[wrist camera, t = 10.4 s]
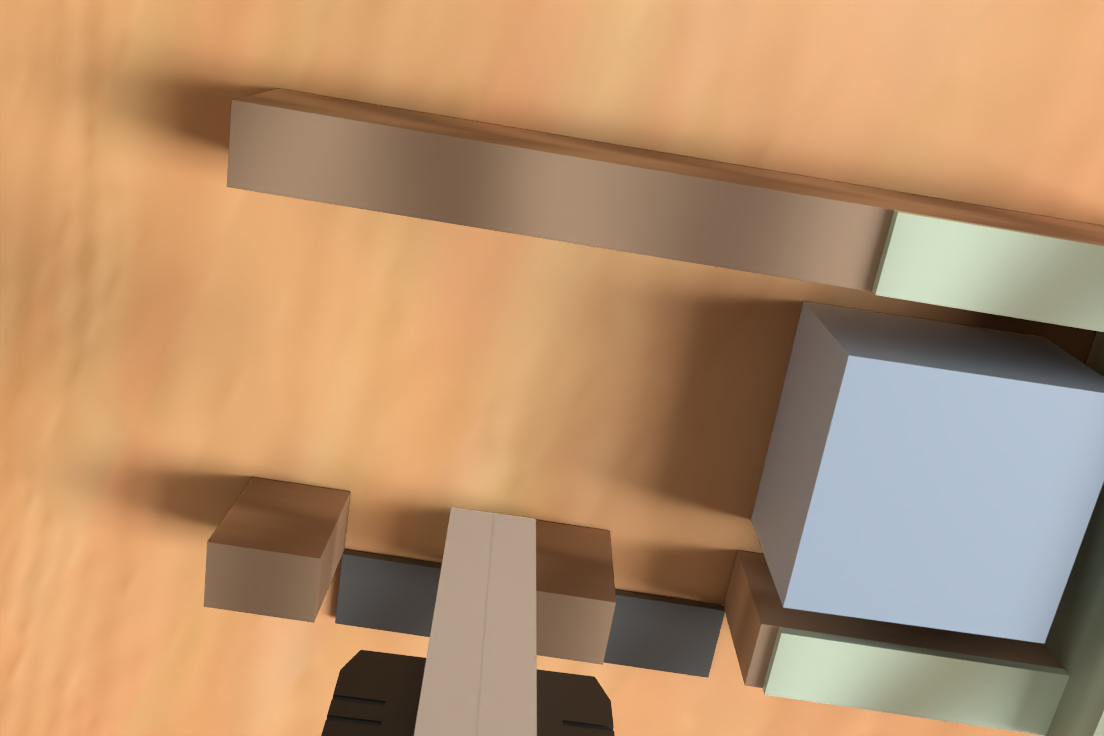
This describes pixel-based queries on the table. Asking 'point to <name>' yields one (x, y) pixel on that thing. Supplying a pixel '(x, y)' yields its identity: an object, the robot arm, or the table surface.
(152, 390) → the table surface
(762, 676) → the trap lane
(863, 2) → the table surface
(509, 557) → the robot arm
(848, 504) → the block
